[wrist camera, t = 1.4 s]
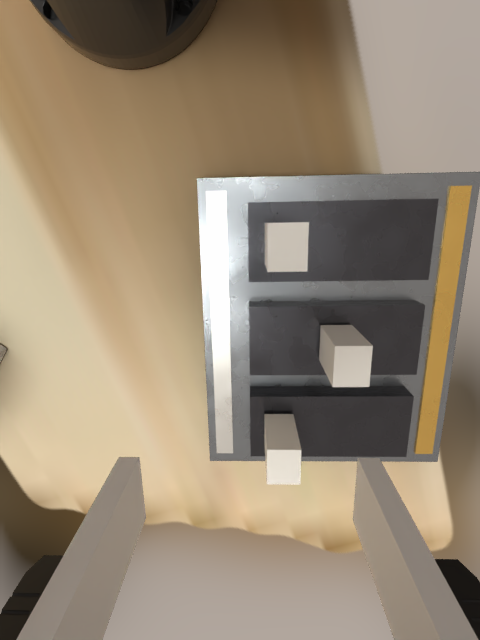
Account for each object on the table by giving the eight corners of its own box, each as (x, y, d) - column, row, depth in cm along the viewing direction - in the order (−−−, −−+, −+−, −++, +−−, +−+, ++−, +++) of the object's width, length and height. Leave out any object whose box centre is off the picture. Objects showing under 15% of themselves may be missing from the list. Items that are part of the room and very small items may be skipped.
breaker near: (264, 222, 26) (267, 222, 21) (298, 222, 26) (308, 222, 21) (264, 263, 27) (267, 272, 22) (297, 262, 27) (307, 271, 22)
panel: (201, 181, 30) (192, 174, 26) (462, 176, 29) (499, 167, 25) (212, 445, 37) (207, 474, 33) (424, 445, 36) (448, 476, 32)
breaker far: (264, 414, 31) (267, 449, 26) (293, 413, 30) (301, 449, 26) (264, 444, 31) (266, 484, 26) (292, 444, 31) (300, 484, 26)
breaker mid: (320, 325, 28) (335, 346, 23) (352, 324, 28) (372, 345, 23) (318, 360, 29) (332, 387, 24) (349, 359, 29) (369, 387, 24)
